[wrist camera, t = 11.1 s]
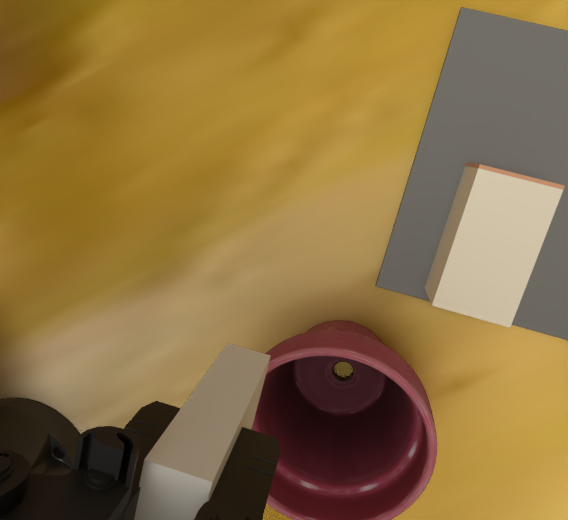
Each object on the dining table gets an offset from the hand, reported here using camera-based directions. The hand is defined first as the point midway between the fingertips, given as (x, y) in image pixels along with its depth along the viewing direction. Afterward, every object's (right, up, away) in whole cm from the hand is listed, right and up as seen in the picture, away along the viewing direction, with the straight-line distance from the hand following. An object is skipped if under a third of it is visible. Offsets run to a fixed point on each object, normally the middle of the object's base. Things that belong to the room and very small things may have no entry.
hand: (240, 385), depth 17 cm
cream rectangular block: (+19, +11, +21) cm, 30 cm away
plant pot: (+7, -6, +30) cm, 31 cm away
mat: (+21, +10, +24) cm, 33 cm away
